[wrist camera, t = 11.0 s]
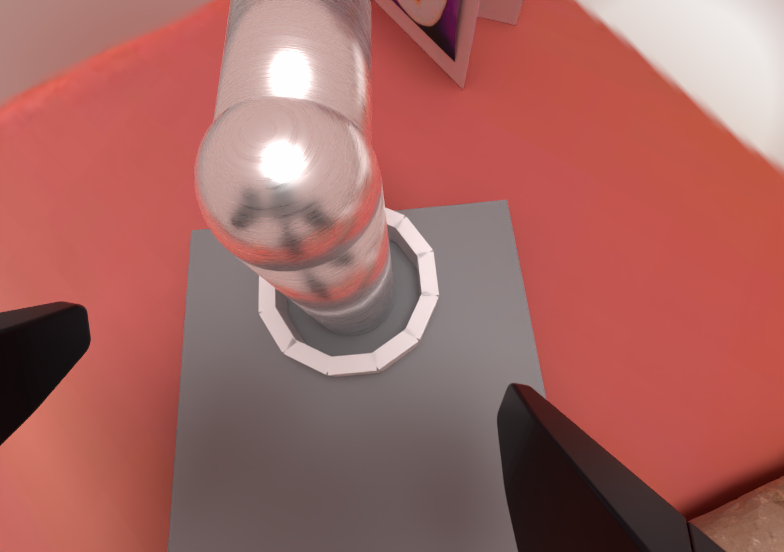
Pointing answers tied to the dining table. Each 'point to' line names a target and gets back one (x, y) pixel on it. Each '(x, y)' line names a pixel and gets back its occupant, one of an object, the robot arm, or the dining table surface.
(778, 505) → the pipe
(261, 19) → the chrome ball-end rod
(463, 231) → the duct flange
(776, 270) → the dining table surface
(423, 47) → the greeting card
